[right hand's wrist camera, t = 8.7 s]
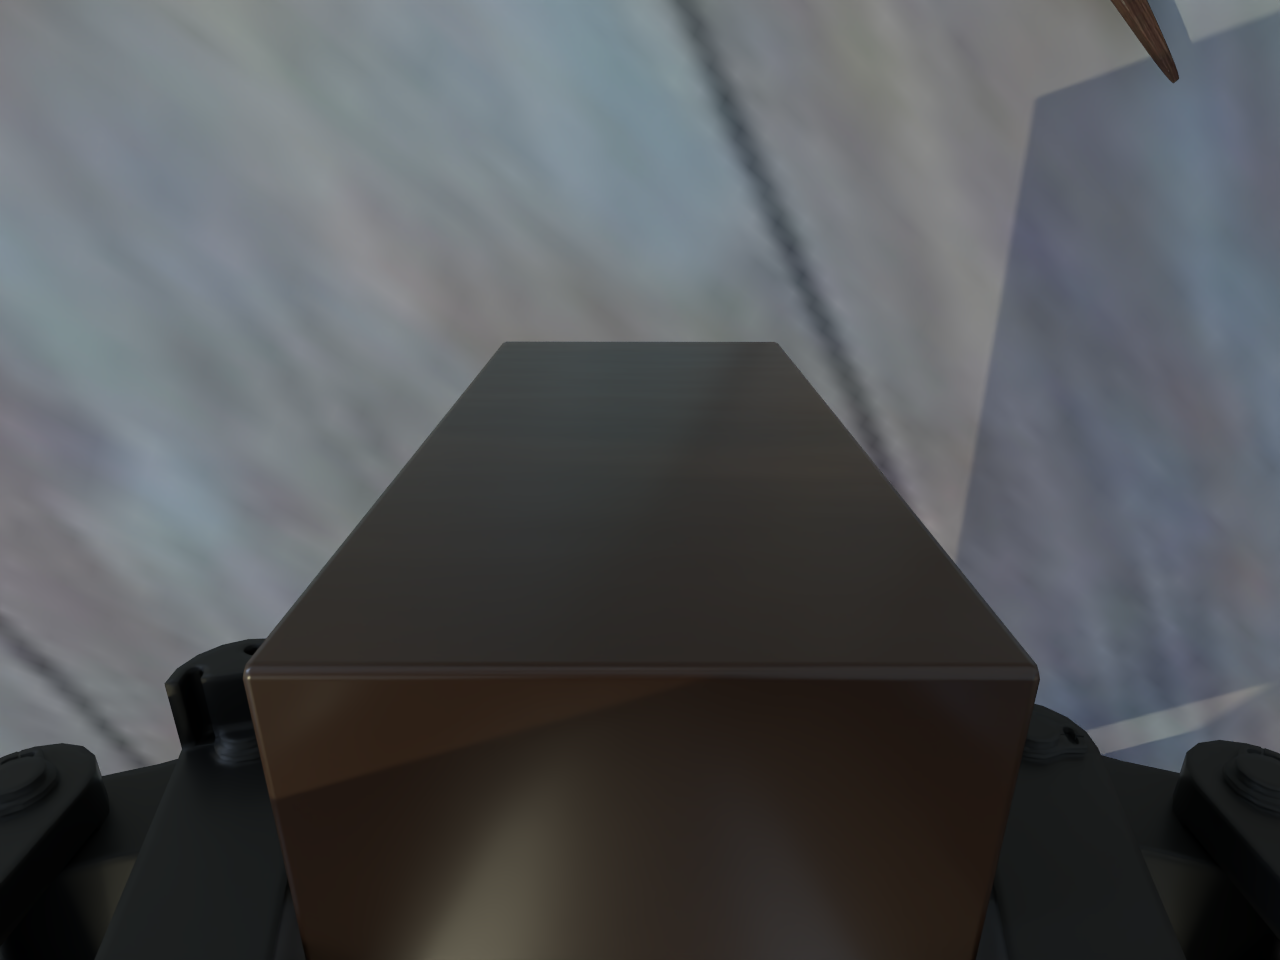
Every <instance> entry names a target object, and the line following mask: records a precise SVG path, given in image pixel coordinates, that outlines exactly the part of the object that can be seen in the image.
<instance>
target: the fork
mask: <svg viewBox="0 0 1280 960" xmlns="http://www.w3.org/2000/svg"><path fill="white" fill-rule="evenodd" d="M1111 1H1112V3H1113V4H1114V5H1115V7H1116V8H1117V10H1118V11H1119V12H1120V14H1121V15H1122V17H1123V18H1124V19H1125V21H1126V22H1127V24H1128V25H1129V27H1130V28H1131V29H1132V31H1133V32H1134V34H1135V35H1136V36H1137V38H1138V39H1139V41H1140V42H1141V43H1142V45H1143V46H1144V48H1145V49H1146V50H1147V52H1148V53H1149V55H1150V56H1151V57H1152V59H1153V60H1154V61H1155V63H1156V64H1157V65H1158V67H1159V68H1160V69H1161V70H1162V72H1163V73H1164V74H1165V75H1166V77H1167V78H1168V79H1169V80H1170V81H1171V82H1172V83H1175V82H1176V81H1177V80H1178V79H1179V75H1178V72H1177V69H1176V66H1175V63H1174V61H1173V58H1172V56H1171V53H1170V51H1169V48H1168V46H1167V44H1166V41H1165V39H1164V37H1163V35H1162V32H1161V30H1160V28H1159V25H1158V23H1157V21H1156V19H1155V17H1154V14H1153V12H1152V10H1151V8H1150V6H1149V3H1148V1H1147V0H1111Z"/></svg>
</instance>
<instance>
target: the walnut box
mask: <svg viewBox="0 0 1280 960" xmlns="http://www.w3.org/2000/svg"><path fill="white" fill-rule="evenodd" d="M243 681H244V686H245V690H246V695H247V699H248V704H249V708H250V713H251V717H252V722H253V726H254V730H255V735H256V739H257V744H258V748H259V753H260V757H261V762H262V766H263V771H264V775H265V780H266V784H267V789H268V793H269V797H270V802H271V806H272V811H273V815H274V820H275V824H276V829H277V833H278V838H279V842H280V847H281V851H282V856H283V860H284V864H285V869H286V873H287V878H288V882H289V887H290V891H291V896H292V900H293V905H294V909H295V914H296V918H297V923H298V927H299V932H300V936H301V940H302V945H303V949H304V954H305V958H306V960H976V956H977V952H978V947H979V943H980V939H981V934H982V930H983V926H984V921H985V917H986V913H987V908H988V904H989V899H990V895H991V891H992V886H993V882H994V878H995V873H996V869H997V864H998V860H999V856H1000V851H1001V847H1002V843H1003V838H1004V834H1005V829H1006V825H1007V821H1008V816H1009V812H1010V808H1011V803H1012V799H1013V794H1014V790H1015V786H1016V781H1017V777H1018V773H1019V768H1020V764H1021V759H1022V755H1023V751H1024V746H1025V742H1026V738H1027V733H1028V729H1029V724H1030V720H1031V716H1032V711H1033V707H1034V703H1035V698H1036V694H1037V689H1038V685H1039V681H1040V677H1039V671H1038V667H1037V665H1036V663H1035V662H1034V661H1033V660H1032V658H1031V657H1030V656H1029V655H1028V653H1027V652H1026V651H1025V650H1024V648H1023V647H1022V646H1021V645H1020V644H1019V642H1018V641H1017V640H1016V639H1015V637H1014V636H1013V635H1012V634H1011V632H1010V631H1009V630H1008V629H1007V627H1006V626H1005V625H1004V624H1003V622H1002V621H1001V620H1000V619H999V617H998V616H997V615H996V614H995V612H994V611H993V610H992V609H991V608H990V606H989V605H988V604H987V603H986V601H985V600H984V599H983V598H982V596H981V595H980V594H979V593H978V591H977V590H976V589H975V588H974V586H973V585H972V584H971V583H970V581H969V580H968V579H967V578H966V576H965V575H964V574H963V573H962V572H961V570H960V569H959V568H958V567H957V565H956V564H955V563H954V562H953V560H952V559H951V558H950V557H949V555H948V554H947V553H946V552H945V550H944V549H943V548H942V547H941V545H940V544H939V543H938V542H937V540H936V539H935V538H934V537H933V536H932V534H931V533H930V532H929V531H928V529H927V528H926V527H925V526H924V524H923V523H922V522H921V521H920V519H919V518H918V517H917V516H916V514H915V513H914V512H913V511H912V509H911V508H910V507H909V506H908V504H907V503H906V502H905V501H904V500H903V498H902V497H901V496H900V495H899V493H898V492H897V491H896V490H895V488H894V487H893V486H892V485H891V483H890V482H889V481H888V480H887V478H886V477H885V476H884V475H883V473H882V472H881V471H880V470H879V469H878V467H877V466H876V465H875V464H874V462H873V461H872V460H871V459H870V457H869V456H868V455H867V454H866V452H865V451H864V450H863V449H862V447H861V446H860V445H859V444H858V442H857V441H856V440H855V439H854V437H853V436H852V435H851V434H850V433H849V431H848V430H847V429H846V428H845V426H844V425H843V424H842V423H841V421H840V420H839V419H838V418H837V416H836V415H835V414H834V413H833V411H832V410H831V409H830V408H829V406H828V405H827V404H826V403H825V401H824V400H823V399H822V398H821V397H820V395H819V394H818V393H817V392H816V390H815V389H814V388H813V387H812V385H811V384H810V383H809V382H808V380H807V379H806V378H805V377H804V375H803V374H802V373H801V372H800V370H799V369H798V368H797V367H796V365H795V364H794V363H793V362H792V361H791V359H790V358H789V357H788V356H787V354H786V353H785V352H784V351H783V349H782V348H781V347H780V346H779V344H778V343H775V342H505V343H503V344H502V345H501V347H500V348H499V349H498V350H497V352H496V353H495V354H494V355H493V357H492V358H491V359H490V360H489V362H488V363H487V364H486V365H485V367H484V368H483V369H482V370H481V372H480V373H479V374H478V375H477V377H476V378H475V379H474V380H473V382H472V383H471V384H470V385H469V387H468V388H467V389H466V390H465V392H464V393H463V394H462V395H461V396H460V398H459V399H458V400H457V401H456V403H455V404H454V405H453V406H452V408H451V409H450V410H449V411H448V413H447V414H446V415H445V416H444V418H443V419H442V420H441V421H440V423H439V424H438V425H437V426H436V428H435V429H434V430H433V431H432V433H431V434H430V435H429V436H428V438H427V439H426V440H425V441H424V443H423V444H422V445H421V446H420V448H419V449H418V450H417V451H416V453H415V454H414V455H413V456H412V458H411V459H410V460H409V461H408V463H407V464H406V465H405V466H404V468H403V469H402V470H401V471H400V473H399V474H398V475H397V476H396V478H395V479H394V480H393V481H392V483H391V484H390V485H389V486H388V487H387V489H386V490H385V491H384V492H383V494H382V495H381V496H380V497H379V499H378V500H377V501H376V502H375V504H374V505H373V506H372V507H371V509H370V510H369V511H368V512H367V514H366V515H365V516H364V517H363V519H362V520H361V521H360V522H359V524H358V525H357V526H356V527H355V529H354V530H353V531H352V532H351V534H350V535H349V536H348V537H347V539H346V540H345V541H344V542H343V544H342V545H341V546H340V547H339V549H338V550H337V551H336V552H335V554H334V555H333V556H332V557H331V559H330V560H329V561H328V562H327V564H326V565H325V566H324V567H323V569H322V570H321V571H320V572H319V573H318V575H317V576H316V577H315V578H314V580H313V581H312V582H311V583H310V585H309V586H308V587H307V588H306V590H305V591H304V592H303V593H302V595H301V596H300V597H299V598H298V600H297V601H296V602H295V603H294V605H293V606H292V607H291V608H290V610H289V611H288V612H287V613H286V615H285V616H284V617H283V618H282V620H281V621H280V622H279V623H278V625H277V626H276V627H275V628H274V630H273V631H272V632H271V633H270V635H269V636H268V637H267V638H266V640H265V641H264V642H263V643H262V645H261V646H260V647H259V648H258V650H257V651H256V652H255V653H254V655H253V656H252V657H251V658H250V660H249V661H248V662H247V663H246V665H245V669H244V673H243Z"/></svg>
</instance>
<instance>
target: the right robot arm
mask: <svg viewBox="0 0 1280 960" xmlns="http://www.w3.org/2000/svg"><path fill="white" fill-rule="evenodd" d="M265 640H266V639H247V640H243V641H238V642H234V643H229V644H225V645H221V646H219V647H216V648H214V649H211V650H209V651H206V652H204V653H202V654H199V655H197V656H195V657H194V658H192V659H191V660H189V661H188V662H186V663H185V664H183V665H182V666H180V667H179V668H177V669H176V671H175V672H174V673H173V674H172V675H171V677H170V678H169V679H168V680H167V681H166V683H165V687H166V691H167V695H168V698H169V702H170V706H171V709H172V713H173V717H174V721H175V724H176V728H177V732H178V735H179V739H180V743H181V746H182V751H181V753H180V756H179V758H178V759H176V760H172V761H169V762H165V763H162V764H157V765H153V766H148V767H143V768H138V769H134V770H129V771H124V772H120V773H115V774H110V775H106V776H101V773H100V770H99V766H98V763H97V760H96V757H95V755H94V754H92V753H91V752H90V751H89V750H87V749H86V748H85V747H83V746H78V745H71V744H64V743H60V744H53V745H45V746H37V747H33V748H29V749H25V750H21V751H20V752H15V753H12V754H9V755H6V756H4V757H1V758H0V960H306V958H305V954H304V949H303V945H302V940H301V936H300V932H299V927H298V923H297V918H296V914H295V909H294V905H293V900H292V896H291V891H290V887H289V882H288V878H287V873H286V869H285V864H284V860H283V856H282V851H281V847H280V842H279V838H278V833H277V829H276V824H275V820H274V815H273V811H272V806H271V802H270V797H269V793H268V789H267V784H266V780H265V775H264V771H263V766H262V762H261V757H260V753H259V748H258V744H257V739H256V735H255V730H254V726H253V722H252V717H251V713H250V708H249V704H248V699H247V695H246V690H245V686H244V681H243V673H244V669H245V665H246V663H247V662H248V661H249V660H250V658H251V657H252V656H253V655H254V653H255V652H256V651H257V650H258V648H259V647H260V646H261V645H262V643H263V642H264V641H265ZM976 960H1280V754H1279V753H1277V752H1274V751H1271V750H1268V749H1263V748H1261V747H1259V746H1254V745H1250V744H1247V743H1239V742H1231V741H1223V740H1216V741H1209V742H1202V743H1198V744H1197V745H1195V746H1194V747H1193V748H1192V749H1190V750H1189V751H1188V752H1187V753H1186V756H1185V759H1184V762H1183V765H1182V769H1181V772H1180V773H1176V772H1172V771H1167V770H1162V769H1157V768H1153V767H1148V766H1143V765H1139V764H1134V763H1129V762H1124V761H1120V760H1117V759H1113V758H1109V757H1106V756H1102V755H1101V754H1100V752H1099V749H1098V748H1097V746H1096V745H1095V743H1094V742H1093V741H1092V739H1091V738H1090V736H1089V735H1088V734H1087V732H1086V731H1084V730H1083V729H1082V728H1081V727H1079V726H1078V725H1077V724H1075V723H1074V722H1073V721H1071V720H1070V719H1069V718H1067V717H1065V716H1063V715H1061V714H1059V713H1057V712H1055V711H1053V710H1050V709H1048V708H1046V707H1044V706H1041V705H1037V704H1034V707H1033V711H1032V716H1031V720H1030V724H1029V729H1028V733H1027V738H1026V742H1025V746H1024V751H1023V755H1022V759H1021V764H1020V768H1019V773H1018V777H1017V781H1016V786H1015V790H1014V794H1013V799H1012V803H1011V808H1010V812H1009V816H1008V821H1007V825H1006V829H1005V834H1004V838H1003V843H1002V847H1001V851H1000V856H999V860H998V864H997V869H996V873H995V878H994V882H993V886H992V891H991V895H990V899H989V904H988V908H987V913H986V917H985V921H984V926H983V930H982V934H981V939H980V943H979V947H978V952H977V956H976Z"/></svg>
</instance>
